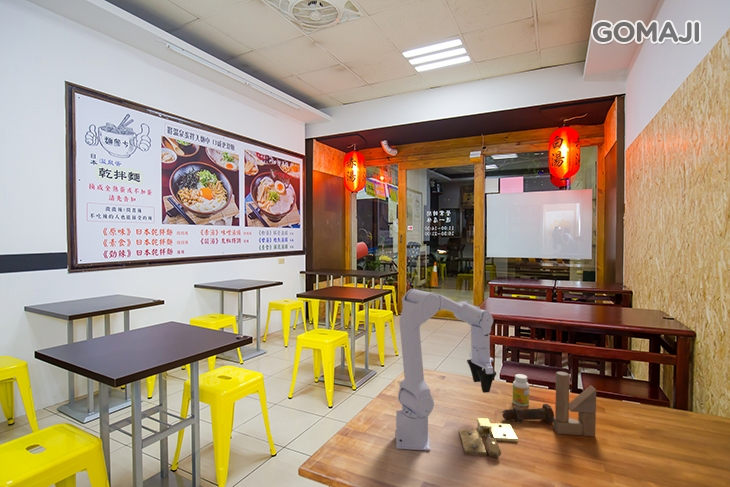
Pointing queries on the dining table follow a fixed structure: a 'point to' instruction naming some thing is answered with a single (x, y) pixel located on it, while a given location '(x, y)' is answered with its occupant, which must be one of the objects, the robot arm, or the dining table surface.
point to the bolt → (529, 414)
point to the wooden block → (574, 409)
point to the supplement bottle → (521, 390)
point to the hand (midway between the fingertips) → (481, 386)
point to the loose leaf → (496, 430)
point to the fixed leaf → (478, 444)
